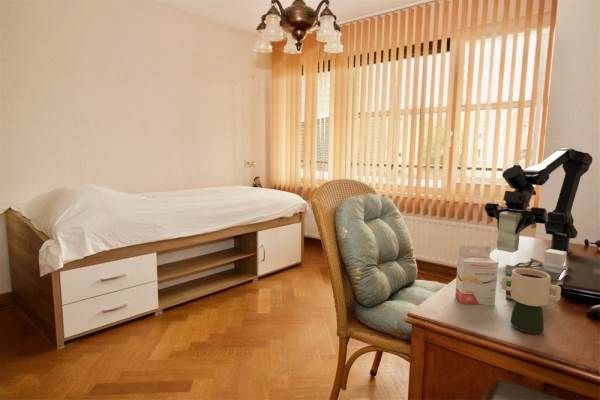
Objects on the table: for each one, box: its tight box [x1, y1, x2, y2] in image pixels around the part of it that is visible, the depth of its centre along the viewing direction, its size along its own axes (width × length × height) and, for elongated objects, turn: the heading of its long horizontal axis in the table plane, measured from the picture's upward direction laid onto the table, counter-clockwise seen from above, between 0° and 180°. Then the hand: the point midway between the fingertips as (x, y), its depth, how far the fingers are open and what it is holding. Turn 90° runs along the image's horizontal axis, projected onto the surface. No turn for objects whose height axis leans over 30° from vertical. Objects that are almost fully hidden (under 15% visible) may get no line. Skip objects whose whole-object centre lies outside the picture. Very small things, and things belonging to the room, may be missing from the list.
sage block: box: [496, 211, 522, 253], centre depth 118 cm, size 5×5×13 cm
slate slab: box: [540, 260, 567, 282], centre depth 110 cm, size 9×9×3 cm
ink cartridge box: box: [455, 245, 499, 306], centre depth 90 cm, size 9×5×15 cm, turn 84°
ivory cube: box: [543, 248, 568, 266], centre depth 118 cm, size 5×5×5 cm
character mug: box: [500, 268, 562, 334], centre depth 76 cm, size 11×7×13 cm, turn 52°
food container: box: [504, 257, 546, 303], centre depth 90 cm, size 12×6×10 cm, turn 117°
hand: (507, 231), depth 117 cm, fingers closed on sage block, 5 cm apart
